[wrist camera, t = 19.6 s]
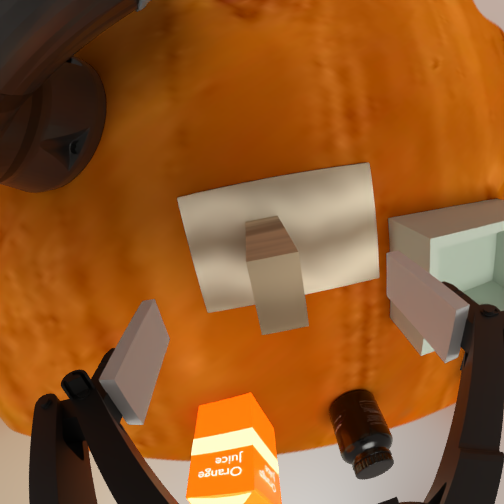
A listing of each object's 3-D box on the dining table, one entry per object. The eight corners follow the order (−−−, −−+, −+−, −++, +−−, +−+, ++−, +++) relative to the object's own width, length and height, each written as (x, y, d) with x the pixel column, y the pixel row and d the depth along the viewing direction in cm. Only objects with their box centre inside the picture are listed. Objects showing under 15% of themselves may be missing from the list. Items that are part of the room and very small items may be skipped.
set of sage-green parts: (388, 218, 28) (459, 254, 17) (499, 198, 27) (566, 219, 16) (388, 339, 33) (433, 403, 21) (490, 300, 32) (541, 340, 21)
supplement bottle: (320, 405, 36) (339, 475, 24) (363, 380, 35) (395, 447, 23) (339, 425, 37) (358, 488, 26) (379, 403, 36) (407, 463, 25)
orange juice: (251, 391, 34) (257, 536, 15) (274, 428, 37) (287, 550, 18) (197, 405, 35) (178, 538, 16) (225, 439, 38) (221, 555, 19)
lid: (179, 196, 27) (135, 223, 16) (365, 162, 27) (435, 169, 15) (208, 308, 31) (192, 385, 19) (375, 274, 30) (432, 331, 19)
